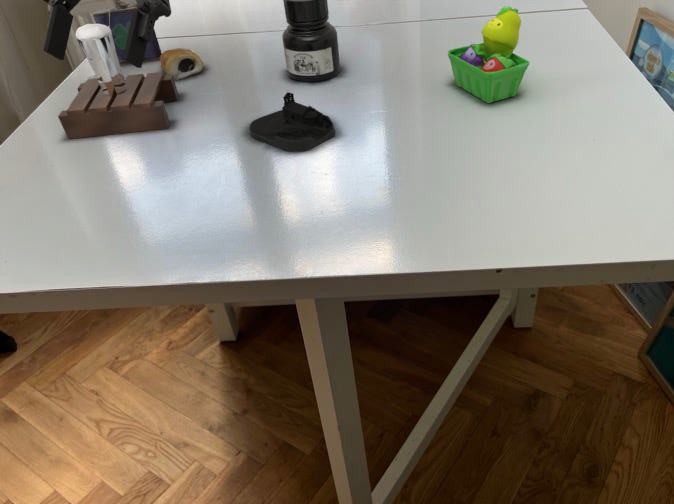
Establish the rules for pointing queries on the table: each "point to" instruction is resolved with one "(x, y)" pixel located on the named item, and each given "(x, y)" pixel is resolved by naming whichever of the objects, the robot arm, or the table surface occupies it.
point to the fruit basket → (491, 60)
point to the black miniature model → (293, 127)
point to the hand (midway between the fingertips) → (91, 59)
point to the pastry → (180, 63)
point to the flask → (125, 29)
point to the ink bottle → (310, 41)
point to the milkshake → (102, 56)
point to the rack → (120, 107)
